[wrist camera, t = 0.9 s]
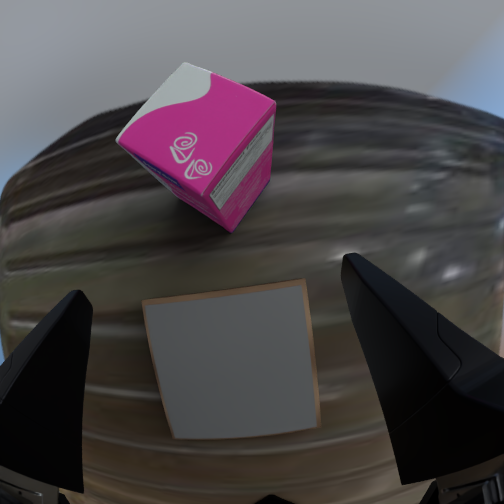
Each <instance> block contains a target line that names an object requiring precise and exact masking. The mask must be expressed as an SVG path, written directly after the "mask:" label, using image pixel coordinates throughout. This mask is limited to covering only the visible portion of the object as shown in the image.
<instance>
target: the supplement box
mask: <svg viewBox="0 0 504 504" xmlns="http://www.w3.org/2000/svg"><path fill="white" fill-rule="evenodd" d="M275 111H276V102H275V101H274V100H272V99H270V98H268V97H266V96H264V95H262V94H260V93H258V92H256V91H254V90H252V89H250V88H248V87H246V86H244V85H241V84H239V83H237V82H235V81H232V80H230V79H228V78H225V77H223V76H220V75H218V74H215V73H213V72H210V71H208V70H205V69H202V68H199V67H197V66H194V65H191V64H188V63H186V62H184V63H182V64H181V65H180V67H178V68H177V69H176V70H175V72H174V73H173V74H172V75H171V76H170V77H169V78H168V79H167V80H166V81H165V82H164V83H163V84H162V85H161V86H160V87H159V89H158V90H157V91H156V92H155V93H154V94H153V95H152V96H151V97H150V98H149V100H148V101H147V102H146V103H145V104H144V105H143V106H142V107H141V109H140V110H139V111H138V112H137V113H136V114H135V115H134V117H133V118H132V119H131V120H130V122H129V123H128V124H127V125H126V126H125V128H124V129H123V130H122V131H121V133H120V134H119V135H118V137H117V138H116V142H117V143H118V144H119V145H120V146H121V147H122V148H123V149H124V150H126V151H127V152H128V153H129V154H130V155H131V156H132V157H133V158H134V159H135V160H136V161H138V162H139V163H140V164H141V165H142V166H143V167H144V168H145V169H146V170H147V171H148V172H149V173H150V174H152V175H153V176H154V177H155V178H156V179H157V180H158V181H160V182H161V183H162V184H163V185H164V186H165V187H166V188H167V189H168V190H169V191H171V192H172V193H173V194H174V195H175V196H176V197H178V198H179V199H181V200H182V201H184V202H186V203H187V204H189V205H191V206H192V207H194V208H195V209H196V210H198V211H200V212H201V213H203V214H204V215H206V216H207V217H208V218H210V219H211V220H213V221H214V222H216V223H217V224H219V225H220V226H222V227H223V228H224V229H226V230H227V231H228V232H230V233H233V231H234V230H235V229H236V227H237V226H238V224H239V223H240V222H241V220H242V219H243V217H244V216H245V214H246V213H247V212H248V210H249V209H250V208H251V206H252V205H253V203H254V202H255V201H256V199H257V198H258V196H259V195H260V194H261V192H262V191H263V189H264V188H265V186H266V185H267V184H268V182H269V181H270V172H271V160H272V147H273V133H274V122H275Z"/></svg>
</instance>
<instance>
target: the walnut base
mask: <svg viewBox="0 0 504 504" xmlns="http://www.w3.org/2000/svg"><path fill="white" fill-rule="evenodd" d="M141 301H142V308H143V314H144V320H145V326H146V332H147V337H148V342H149V348H150V353H151V357H152V362H153V367H154V371H155V375H156V380H157V384H158V388H159V392H160V396H161V399H162V403H163V407H164V410H165V414H166V417H167V421H168V424H169V427H170V431H171V434H172V437H173V439H178V440H219V439H238V438H251V437H261V436H270V435H278V434H285V433H291V432H297V431H303V430H308V429H314V428H319V427H321V417H320V404H319V392H318V381H317V370H316V360H315V351H314V342H313V333H312V325H311V317H310V309H309V302H308V295H307V287H306V280H305V279H303V278H300V279H293V280H287V281H280V282H274V283H267V284H260V285H254V286H247V287H239V288H232V289H225V290H217V291H210V292H202V293H194V294H186V295H177V296H169V297H160V298H152V299H146V300H141Z"/></svg>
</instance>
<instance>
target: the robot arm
mask: <svg viewBox="0 0 504 504" xmlns="http://www.w3.org/2000/svg"><path fill="white" fill-rule="evenodd" d="M341 280H342V284H343V288H344V292H345V295H346V299H347V303H348V307H349V311H350V315H351V318H352V322H353V325H354V328H355V330H356V333H357V336H358V339H359V341H360V344H361V347H362V350H363V352H364V355H365V358H366V361H367V364H368V367H369V370H370V373H371V376H372V379H373V382H374V385H375V388H376V391H377V394H378V398H379V401H380V404H381V407H382V411H383V414H384V418H385V421H386V425H387V428H388V432H389V436H390V440H391V443H392V447H393V451H394V455H395V459H396V463H397V467H398V472H399V476H400V480H401V484H402V485H406V484H411V483H416V482H421V481H425V480H429V479H434V478H436V480H435V481H433V482H432V483H431V485H430V486H429V488H428V490H427V492H426V493H425V495H424V497H423V498H422V500H421V501H420V503H419V504H504V358H502V357H500V356H499V355H497V354H496V353H494V352H493V351H491V350H490V349H489V348H487V347H486V346H484V345H483V344H481V343H480V342H478V341H477V340H475V339H474V338H472V337H471V336H470V335H468V334H467V333H465V332H464V331H463V330H461V329H460V328H458V327H457V326H456V325H454V324H453V323H452V322H450V321H449V320H448V319H446V318H445V317H444V316H443V315H441V314H440V313H439V312H438V313H437V311H436V310H435V309H434V308H432V307H431V306H430V305H428V304H427V303H426V302H424V301H423V300H422V299H420V298H419V297H418V296H417V295H415V294H414V293H412V292H411V291H410V290H408V289H407V288H406V287H404V286H403V285H402V284H400V283H399V282H398V281H396V280H395V279H393V278H392V277H391V276H389V275H388V274H386V273H385V272H384V271H382V270H381V269H379V268H378V267H377V266H375V265H374V264H372V263H371V262H369V261H368V260H366V259H365V258H364V257H362V256H361V255H359V254H358V253H349V254H345V255H344V256H343V261H342V269H341ZM92 315H93V307H92V305H91V303H90V302H89V300H88V299H87V297H86V296H85V294H84V293H83V291H81V290H73V291H71V292H69V293H68V294H67V295H66V296H65V297H64V298H63V299H62V300H61V301H60V302H59V303H58V304H57V305H56V306H55V307H54V308H53V309H52V310H51V311H50V312H49V313H48V314H47V315H46V316H45V317H44V318H43V319H42V320H41V321H40V322H39V323H38V324H37V325H36V327H35V328H34V329H33V330H32V331H31V332H30V333H29V334H28V335H27V336H26V337H25V338H24V340H23V341H22V342H21V343H20V344H19V345H18V346H17V347H16V348H15V350H14V351H13V352H12V353H11V354H10V355H9V357H8V358H7V359H6V360H5V361H4V362H3V364H2V365H1V366H0V504H70V503H69V501H68V500H67V498H66V497H65V495H64V494H62V493H59V488H63V489H66V490H70V491H74V492H78V493H84V485H83V469H82V447H81V446H82V417H83V401H84V389H85V379H86V371H87V363H88V356H89V349H90V337H91V325H92ZM256 504H294V503H291V502H289V501H286V500H284V499H282V498H280V497H277V496H275V495H269V496H267V497H266V498H264V499H262V500H261V501H259V502H257V503H256Z"/></svg>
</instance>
